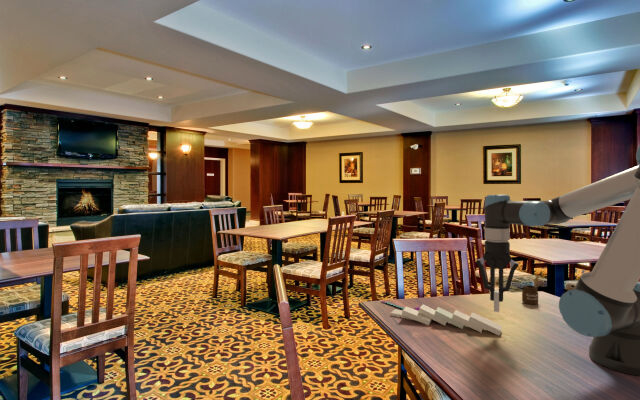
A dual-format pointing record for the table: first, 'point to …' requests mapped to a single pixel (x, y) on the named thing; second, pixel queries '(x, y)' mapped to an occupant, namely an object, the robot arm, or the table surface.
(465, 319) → the domino
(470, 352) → the table surface
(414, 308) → the squeegee
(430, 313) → the domino
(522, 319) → the table surface
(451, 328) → the table surface
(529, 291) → the utensil holder
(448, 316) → the domino
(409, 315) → the domino
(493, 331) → the domino
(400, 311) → the domino
